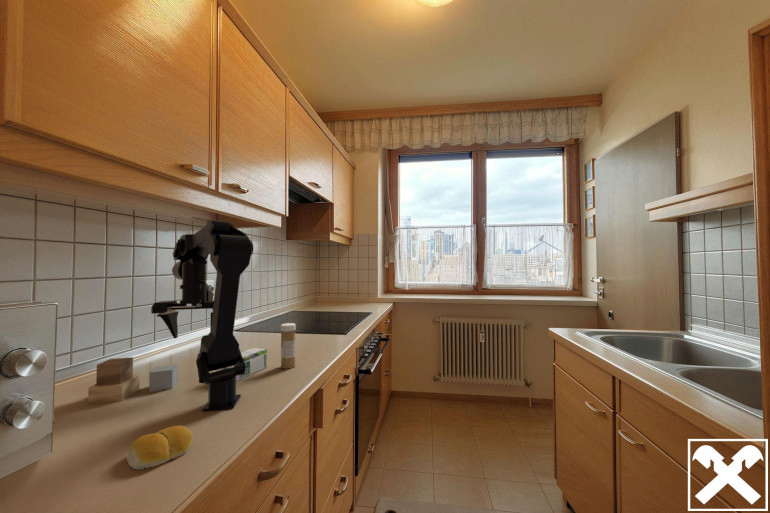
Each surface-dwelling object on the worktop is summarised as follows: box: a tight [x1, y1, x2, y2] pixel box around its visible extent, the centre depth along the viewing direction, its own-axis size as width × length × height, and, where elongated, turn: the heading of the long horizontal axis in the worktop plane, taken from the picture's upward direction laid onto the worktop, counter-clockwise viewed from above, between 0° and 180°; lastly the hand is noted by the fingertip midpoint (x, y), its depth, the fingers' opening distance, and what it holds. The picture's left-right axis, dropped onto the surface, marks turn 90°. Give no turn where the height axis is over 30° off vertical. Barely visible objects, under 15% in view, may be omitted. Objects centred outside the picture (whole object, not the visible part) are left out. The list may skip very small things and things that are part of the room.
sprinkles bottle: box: [280, 322, 296, 369], centre depth 97 cm, size 5×5×13 cm
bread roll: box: [126, 425, 194, 470], centre depth 53 cm, size 8×9×4 cm
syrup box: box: [215, 347, 268, 382], centre depth 91 cm, size 6×6×14 cm
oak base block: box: [87, 374, 140, 404], centre depth 77 cm, size 7×7×4 cm
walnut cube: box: [95, 357, 134, 386], centre depth 77 cm, size 5×5×5 cm
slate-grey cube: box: [148, 363, 178, 393], centre depth 82 cm, size 5×5×5 cm
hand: (194, 337), depth 85 cm, fingers open, 9 cm apart
